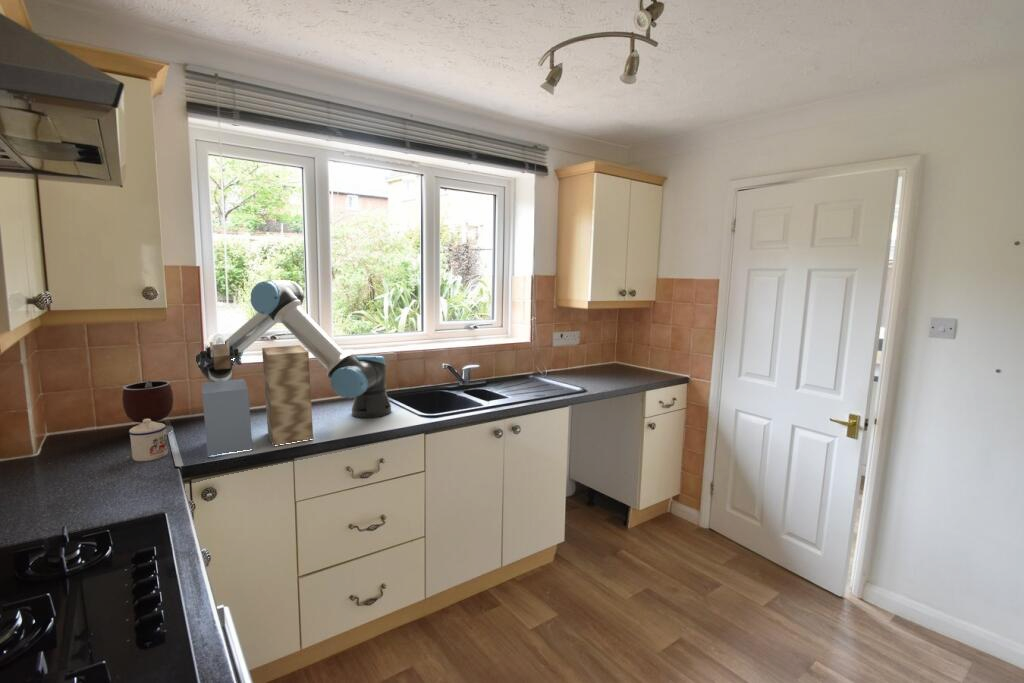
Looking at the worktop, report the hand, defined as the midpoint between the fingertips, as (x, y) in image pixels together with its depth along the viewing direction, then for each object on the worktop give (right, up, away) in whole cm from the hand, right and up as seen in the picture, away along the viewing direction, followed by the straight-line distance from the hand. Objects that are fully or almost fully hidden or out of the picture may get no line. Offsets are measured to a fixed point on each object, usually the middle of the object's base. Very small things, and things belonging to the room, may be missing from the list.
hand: (219, 345), depth 162 cm
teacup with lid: (-13, -34, -11) cm, 38 cm away
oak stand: (+21, -31, +5) cm, 38 cm away
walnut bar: (+3, -5, -4) cm, 7 cm away
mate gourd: (-28, -31, +8) cm, 42 cm away
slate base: (+6, -32, -4) cm, 33 cm away
